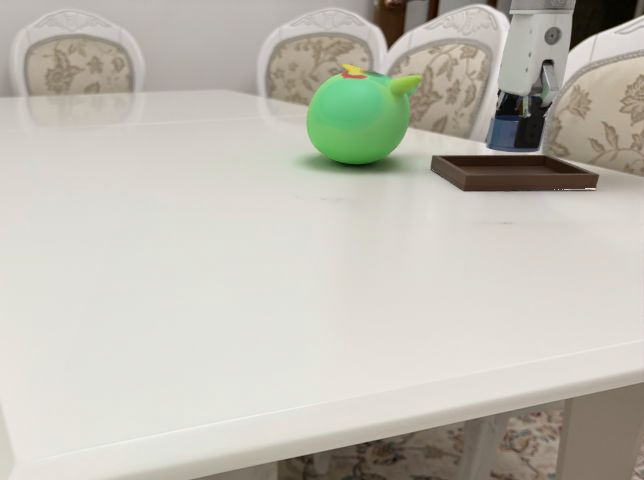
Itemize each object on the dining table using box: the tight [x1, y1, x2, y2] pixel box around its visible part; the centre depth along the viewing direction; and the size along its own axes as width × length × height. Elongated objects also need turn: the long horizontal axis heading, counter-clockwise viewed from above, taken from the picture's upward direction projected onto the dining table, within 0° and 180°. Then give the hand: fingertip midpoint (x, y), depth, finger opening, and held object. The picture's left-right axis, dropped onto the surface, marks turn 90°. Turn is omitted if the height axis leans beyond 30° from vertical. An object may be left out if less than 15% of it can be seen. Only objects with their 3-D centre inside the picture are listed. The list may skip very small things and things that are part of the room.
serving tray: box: [429, 154, 600, 192], centre depth 98 cm, size 18×15×2 cm
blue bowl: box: [485, 115, 547, 154], centre depth 95 cm, size 7×7×4 cm
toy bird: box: [305, 63, 423, 165], centre depth 107 cm, size 18×17×15 cm
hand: (513, 142), depth 96 cm, fingers closed on blue bowl, 7 cm apart
